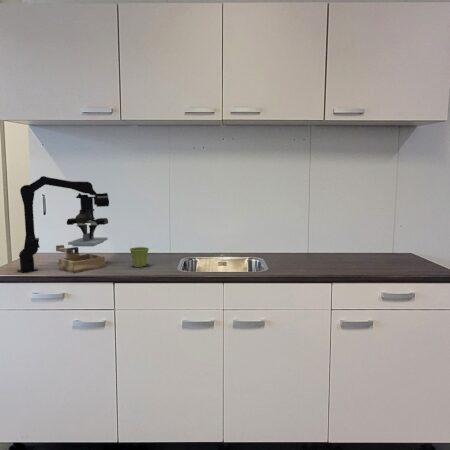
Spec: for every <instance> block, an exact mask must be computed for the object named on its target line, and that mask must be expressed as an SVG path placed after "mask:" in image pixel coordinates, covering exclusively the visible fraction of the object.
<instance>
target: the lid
mask: <svg viewBox="0 0 450 450" xmlns="http://www.w3.org/2000/svg"><path fill="white" fill-rule="evenodd" d="M94 234H95V233H94ZM94 234H93V236H92V239H90V232H87V234H82V237H80V238H78V239H74V240H71V241H68V242H67V245H69V246H72V247H96V246H97V245H100V244H103V243H104V242H106V241H108V240H109V239H108V237H106V236H103V237H101V236H100V237H94Z"/></svg>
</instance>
